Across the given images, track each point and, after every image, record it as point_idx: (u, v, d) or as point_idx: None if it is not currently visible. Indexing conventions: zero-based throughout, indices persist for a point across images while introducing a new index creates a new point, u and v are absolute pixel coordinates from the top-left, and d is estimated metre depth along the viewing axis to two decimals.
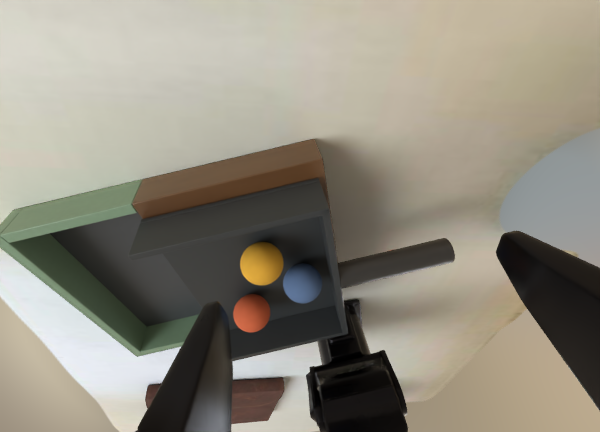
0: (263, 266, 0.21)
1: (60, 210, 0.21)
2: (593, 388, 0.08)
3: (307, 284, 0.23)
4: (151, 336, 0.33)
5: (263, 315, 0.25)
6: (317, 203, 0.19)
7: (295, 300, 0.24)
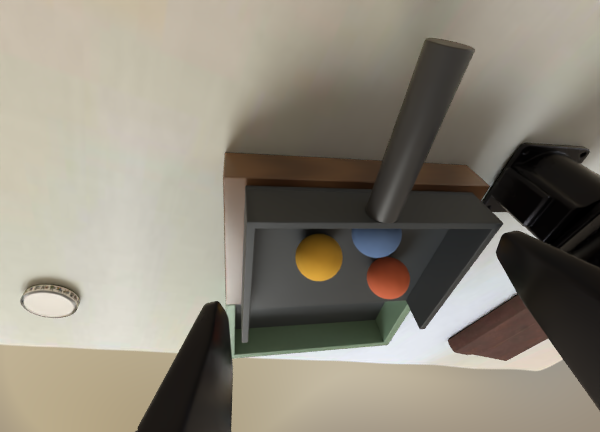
0: (308, 256, 0.19)
1: None
2: (593, 388, 0.08)
3: (367, 231, 0.19)
4: (381, 326, 0.36)
5: (387, 265, 0.22)
6: None
7: (386, 252, 0.19)
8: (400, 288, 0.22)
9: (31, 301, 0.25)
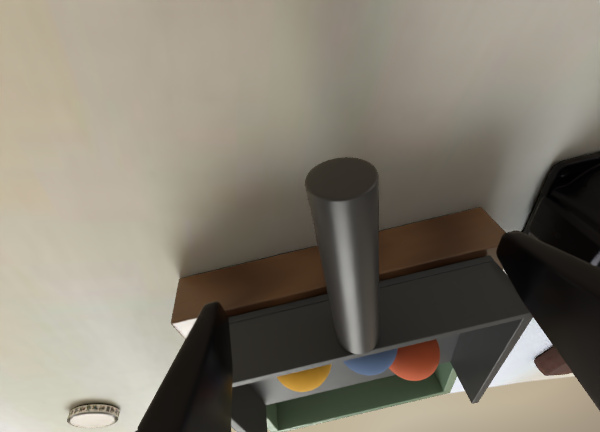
0: None
1: None
2: (593, 388, 0.08)
3: None
4: (437, 372, 0.31)
5: None
6: None
7: (379, 372, 0.15)
8: None
9: (76, 421, 0.27)
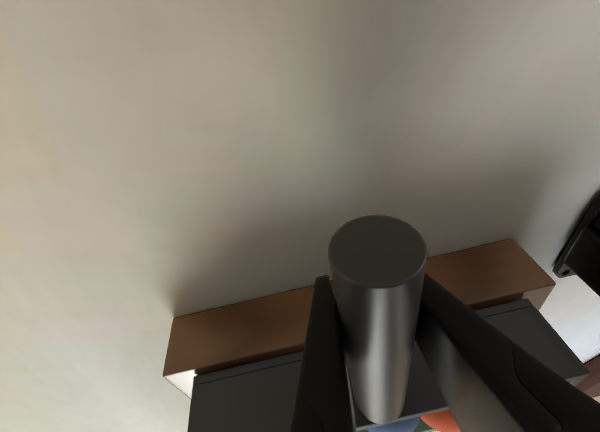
0: None
1: None
2: (458, 419, 0.08)
3: None
4: None
5: None
6: None
7: None
8: None
9: None
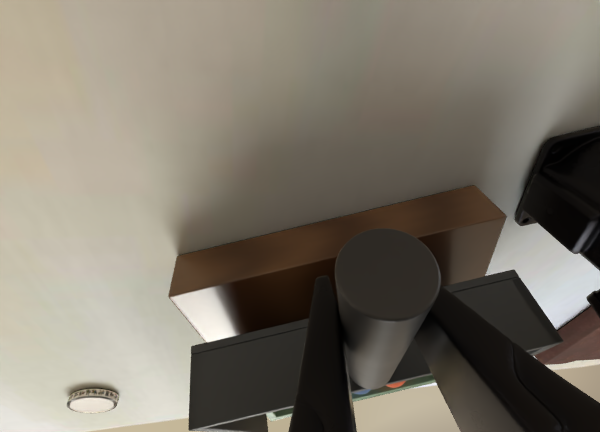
0: None
1: None
2: (458, 419, 0.08)
3: None
4: None
5: None
6: None
7: None
8: None
9: (76, 405, 0.27)
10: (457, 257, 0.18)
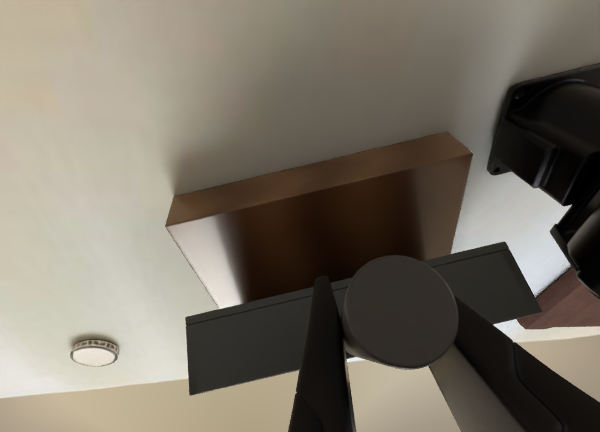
0: None
1: None
2: (458, 419, 0.08)
3: None
4: None
5: None
6: None
7: None
8: None
9: (79, 356, 0.29)
10: (431, 196, 0.19)
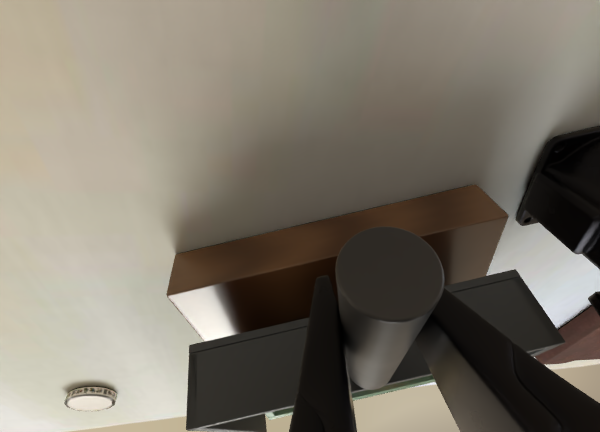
0: None
1: None
2: (458, 420, 0.08)
3: None
4: None
5: None
6: None
7: None
8: None
9: (74, 403, 0.27)
10: (458, 256, 0.18)
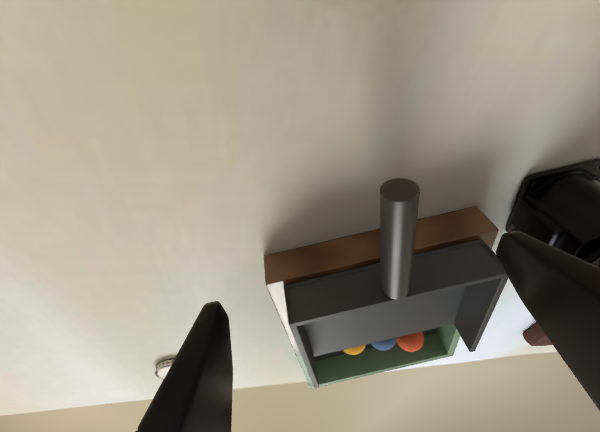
0: None
1: None
2: (593, 388, 0.08)
3: None
4: (442, 339, 0.38)
5: (401, 336, 0.35)
6: None
7: None
8: (413, 349, 0.35)
9: (162, 373, 0.35)
10: None
